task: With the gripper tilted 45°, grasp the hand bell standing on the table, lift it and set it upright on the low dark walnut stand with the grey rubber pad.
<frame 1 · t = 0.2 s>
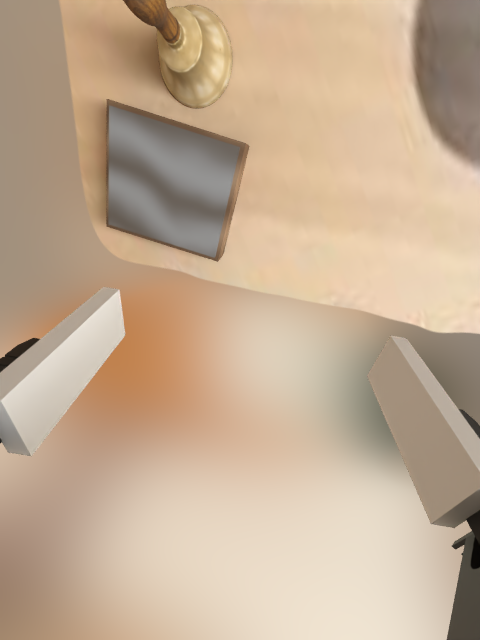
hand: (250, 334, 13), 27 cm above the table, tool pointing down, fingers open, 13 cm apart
walnut stand: (178, 187, 36), on the table
hand bell: (196, 61, 29), on the table
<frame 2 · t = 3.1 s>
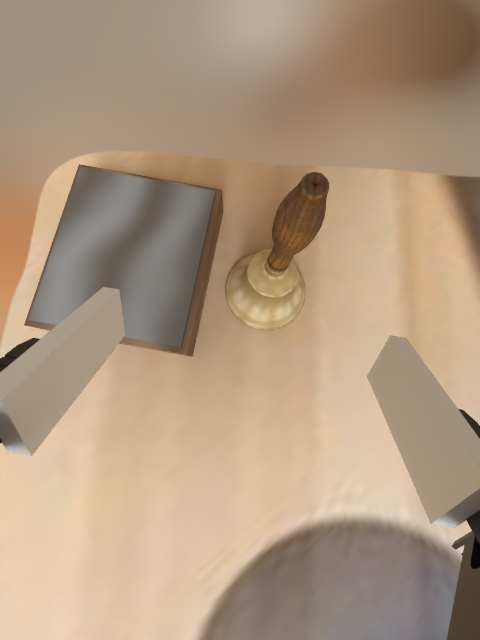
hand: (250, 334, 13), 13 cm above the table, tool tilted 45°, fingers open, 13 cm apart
walnut stand: (142, 268, 27), on the table
hand bell: (264, 291, 28), on the table
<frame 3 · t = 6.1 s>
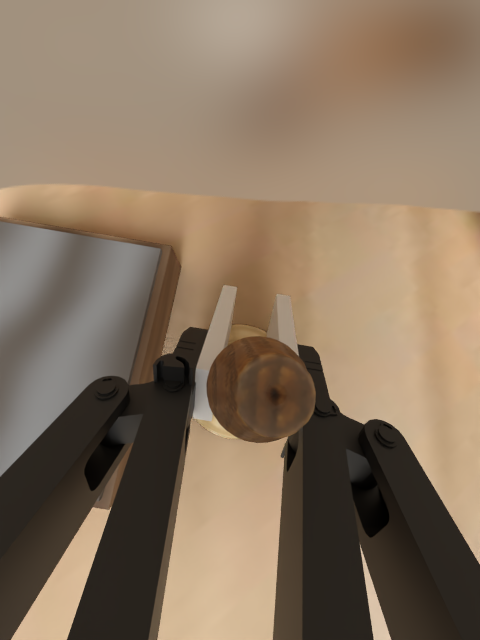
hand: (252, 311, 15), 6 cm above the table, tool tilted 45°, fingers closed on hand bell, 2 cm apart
walnut stand: (66, 350, 20), on the table
hand bell: (238, 379, 20), on the table, touching gripper
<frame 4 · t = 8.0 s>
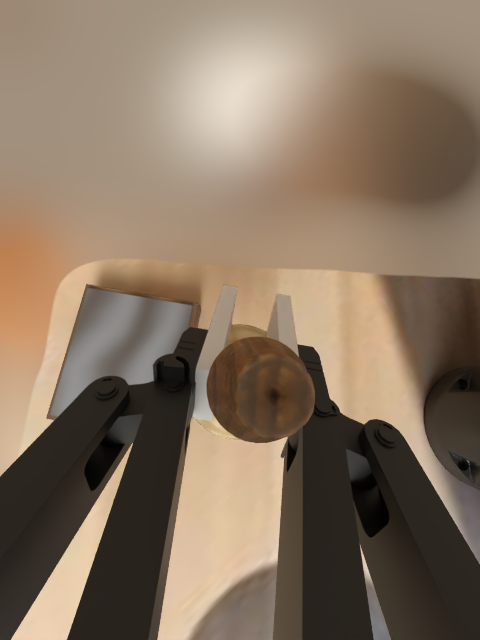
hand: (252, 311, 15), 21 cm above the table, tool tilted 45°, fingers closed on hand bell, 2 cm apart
walnut stand: (136, 359, 35), on the table
hand bell: (238, 379, 20), point 15 cm above the table, touching gripper
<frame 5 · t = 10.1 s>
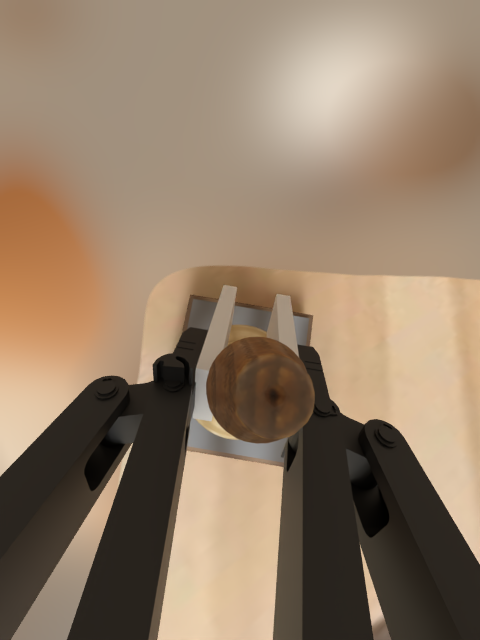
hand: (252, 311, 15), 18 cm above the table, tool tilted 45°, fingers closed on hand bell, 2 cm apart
walnut stand: (239, 376, 31), on the table
hand bell: (238, 379, 20), point 12 cm above the table, touching gripper
when the fingers open (11 cm above the table, at t = 11.7 s): hand bell drops 1 cm, resting on walnut stand.
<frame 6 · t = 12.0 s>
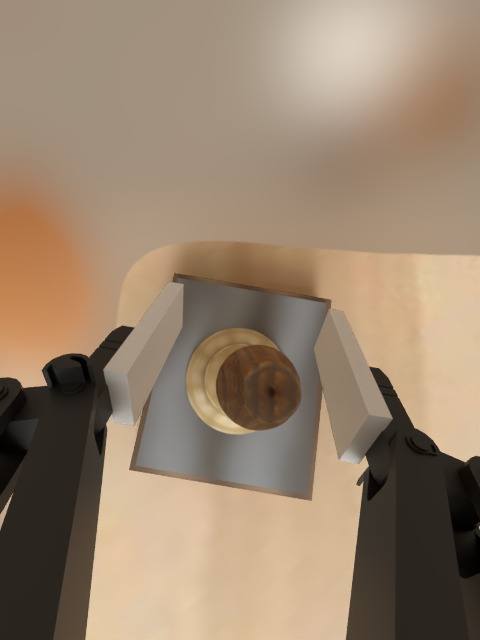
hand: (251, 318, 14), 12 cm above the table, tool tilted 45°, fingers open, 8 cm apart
walnut stand: (236, 377, 25), on the table
hand bell: (237, 378, 21), point 4 cm above the table, touching walnut stand
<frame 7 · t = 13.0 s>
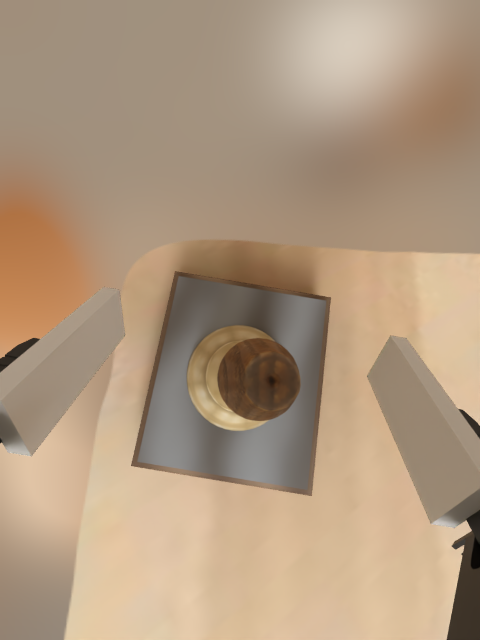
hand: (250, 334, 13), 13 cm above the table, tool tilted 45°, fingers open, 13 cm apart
walnut stand: (237, 375, 25), on the table
hand bell: (238, 375, 21), point 4 cm above the table, touching walnut stand
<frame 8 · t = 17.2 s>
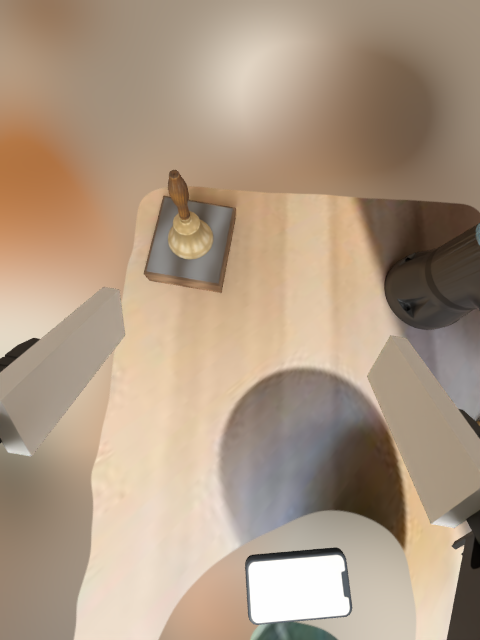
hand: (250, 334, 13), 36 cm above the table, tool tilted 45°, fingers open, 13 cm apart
walnut stand: (193, 248, 52), on the table
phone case: (295, 579, 42), on the table
hand bell: (191, 239, 48), point 4 cm above the table, touching walnut stand
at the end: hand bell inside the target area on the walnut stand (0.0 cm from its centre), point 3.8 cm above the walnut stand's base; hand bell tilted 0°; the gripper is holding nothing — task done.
